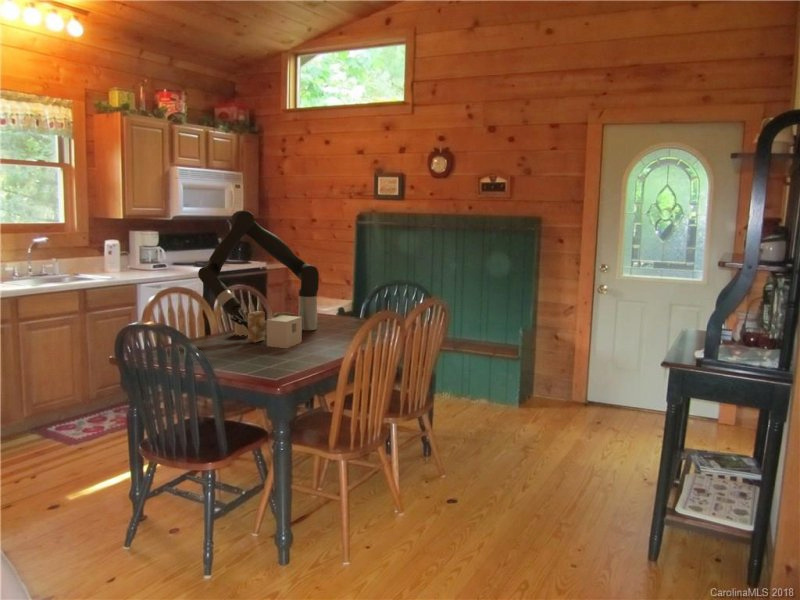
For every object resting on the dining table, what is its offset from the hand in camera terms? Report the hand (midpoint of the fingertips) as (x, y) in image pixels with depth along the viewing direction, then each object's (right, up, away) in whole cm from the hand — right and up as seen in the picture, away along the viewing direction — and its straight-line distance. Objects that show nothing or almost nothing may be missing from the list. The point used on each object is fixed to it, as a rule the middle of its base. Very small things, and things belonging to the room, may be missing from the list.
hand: (251, 329), depth 303 cm
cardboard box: (+16, -6, -5) cm, 18 cm away
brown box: (+8, -5, -2) cm, 10 cm away
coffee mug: (+10, -3, +19) cm, 22 cm away
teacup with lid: (-7, -3, +16) cm, 18 cm away
